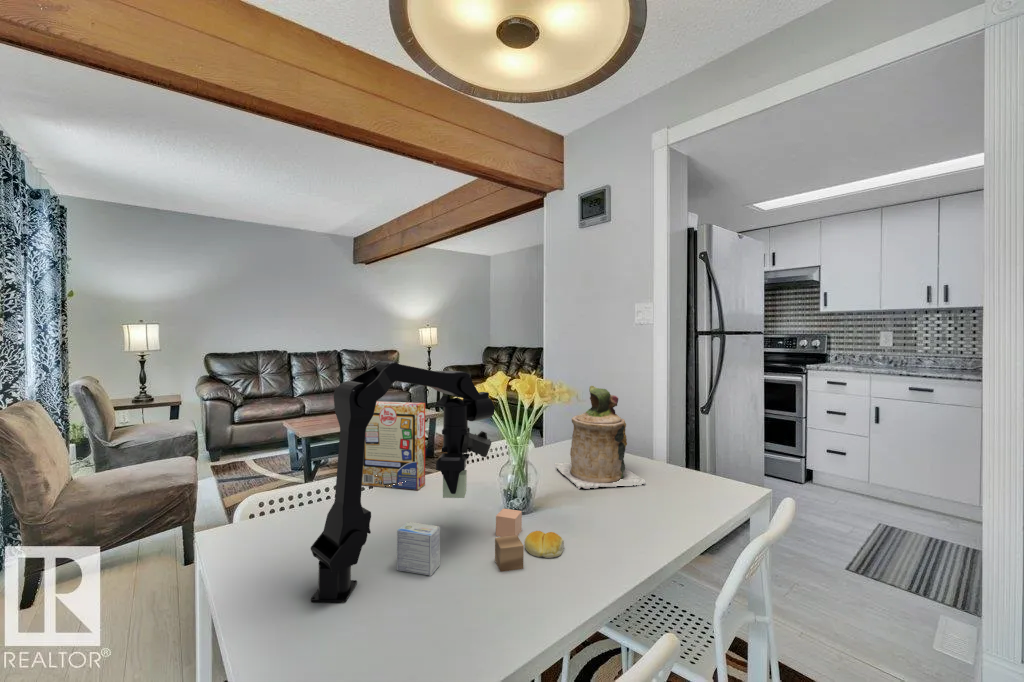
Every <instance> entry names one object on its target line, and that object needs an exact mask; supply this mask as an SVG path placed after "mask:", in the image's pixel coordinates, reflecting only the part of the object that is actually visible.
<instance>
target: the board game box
mask: <svg viewBox="0 0 1024 682" xmlns="http://www.w3.org/2000/svg"><path fill="white" fill-rule="evenodd" d="M376 475H377V476H376ZM405 481H406V482H405ZM402 482H403V483H402ZM398 483H399V484H398ZM393 484H395V485H393ZM389 485H390V486H389ZM425 485H426V402H404V401H402V402H401V401H381V400H380V401H379V400H377V402H376V406H375V411H374V415H373V417H372V419H371V420H370V422H369V424H368V426H367V428H366V434H365V448H364V462H363V476H362V486H368V487H369V486H370V487H382V488H391V487H392V488H393V489H406V490H415V491H419V490H420V489H421V488H423V487H424V486H425ZM385 486H386V487H385ZM392 488H391V489H392Z"/></svg>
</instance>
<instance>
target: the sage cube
mask: <svg viewBox="0 0 1024 682" xmlns="http://www.w3.org/2000/svg"><path fill="white" fill-rule="evenodd" d="M467 472H468V471H467V469H465V470H463V471H461V472H460V474H459V479H458V485H457V490H456V494H451V493H450V490H449V488H448V486H447V483H446V481H445V479H444V477H443V476H442V498H443V499H448V498H449V499H465V497H466V495H467V485H468V484H467V477H468V476H467Z"/></svg>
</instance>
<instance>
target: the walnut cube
mask: <svg viewBox="0 0 1024 682" xmlns="http://www.w3.org/2000/svg"><path fill="white" fill-rule="evenodd" d="M524 549H525V544H523V542H522V540H521V539H520V538H519V535H518V536H517V535H515V536H506V537H500V536H496V537H494V562H495V563H496V566H497V568H498V570H499V572H500V573H502V572H509V571H519V570H524V551H525V550H524Z"/></svg>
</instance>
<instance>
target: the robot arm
mask: <svg viewBox="0 0 1024 682" xmlns="http://www.w3.org/2000/svg"><path fill="white" fill-rule="evenodd" d="M395 382H399V383H404V384H411V385H412V384H413V385H418V386H423V387H424V386H425V387H429V388H431V389H433V390H435V391H437V392H440V393H442V394H445V395H442V396H441V397H440V399H439V400H438V401H437V402H436V403H435V406H436V407H442V408H443V422H442V423H443V425H442V426H443V428H442V429H441V435H442V437H443V439H442V447H441V454H440V455H439V456H438V458H437V460H436V461H435V470H436V471H438V472H441V474H442V478H443V477H444V479H445V481H446V483H447V486H448V488H449V490H450V493H451V494H456V490H457V485H458V479H459V474H460V472H461V471H463V470H466V467H467V461H468V459H469V458H470V455H471V454H470V453H471V452H472V453H474V454H477V455H480V456H481V457H483V458H487V456H488V454H489V452H490V451H489V450H490V448H491V446H492V440H491V439H490V438H488V432H486V431H483V430H482V431H480V432H478V434H476V433H472V432H470V430H471V429H470V427H469V425H468V422H475V421H476V422H477V421H482V420H487V419H491V418H493V416H494V414H495V411H496V410H495V409H496V407H495V405H494V402H493V400H492V398H491V397H490V393H489V391H488V392H487V391H480V392H479V391H478V389H477V388H476V386H475V384H474V382H473V379H472V375H471V374H470V373H469V372H467V371H459V370H458V371H456V370H430V369H426V368H420V367H415V366H411V365H405V364H401V363H398V362H396V361H389V360H386V361H385V360H382V361H379V362H378V363H377V364H375V365H374V366H373V367H371V368H370V369H367V370H365V371H364V372H361V373H360V374H358V375H356V376H354V377H353V378H352V379H351V380H347V381H344V382H341V383H340V384H339V385H337V386H336V387H335V389H334V393H333V403H334V412H335V416H336V420H337V422H338V425H339V440H338V441H339V442H338V453H337V454H338V455H337V468H336V479H335V480H336V481H335V482H336V483H335V492H334V493H335V494H334V496H335V497H334V502H333V504H332V505H331V508H330V509H329V511H328V513H327V514H326V515H327V516H326V520H325V523H324V528H323V531H322V532H321V533H320V534H319V536H318V537H317V539H316V540H315V541H314V542H313V543H312V545H311V546H310V551H311V554H312V555H313V557H314V558H316V559H317V560H318V585H317V587H318V588H317V590H316V591H315V592H314V594H313V595H312V596H311V598H310V602H311V603H345V602H347V600H348V599H349V597H350V596H351V594H352V593H353V591H354V590H355V588H356V586H357V585H358V581H357V580H356V579H353V580H352V566H354V565H357V564H358V561H359V559H360V555H361V552H362V548H363V546H364V545H365V544H366V542H367V539H368V534H371V529H370V527H371V526H370V525H371V524H370V523H371V519H372V511H370V510H368V509H367V508H365V507H363V506H362V502H361V501H362V500H361V499H362V488H363V485H362V476H363V462H364V448H365V434H366V428H367V426H368V424H369V422H370V420H371V419H372V417H373V415H374V411H375V406H376V402H377V401H379V400H380V399H382V397H384V396H385V395H386V393H388V391H389V389H390V388H391V387H392V385H393V384H394V383H395ZM449 395H450V396H453V397H451V398H450V396H449Z"/></svg>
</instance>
